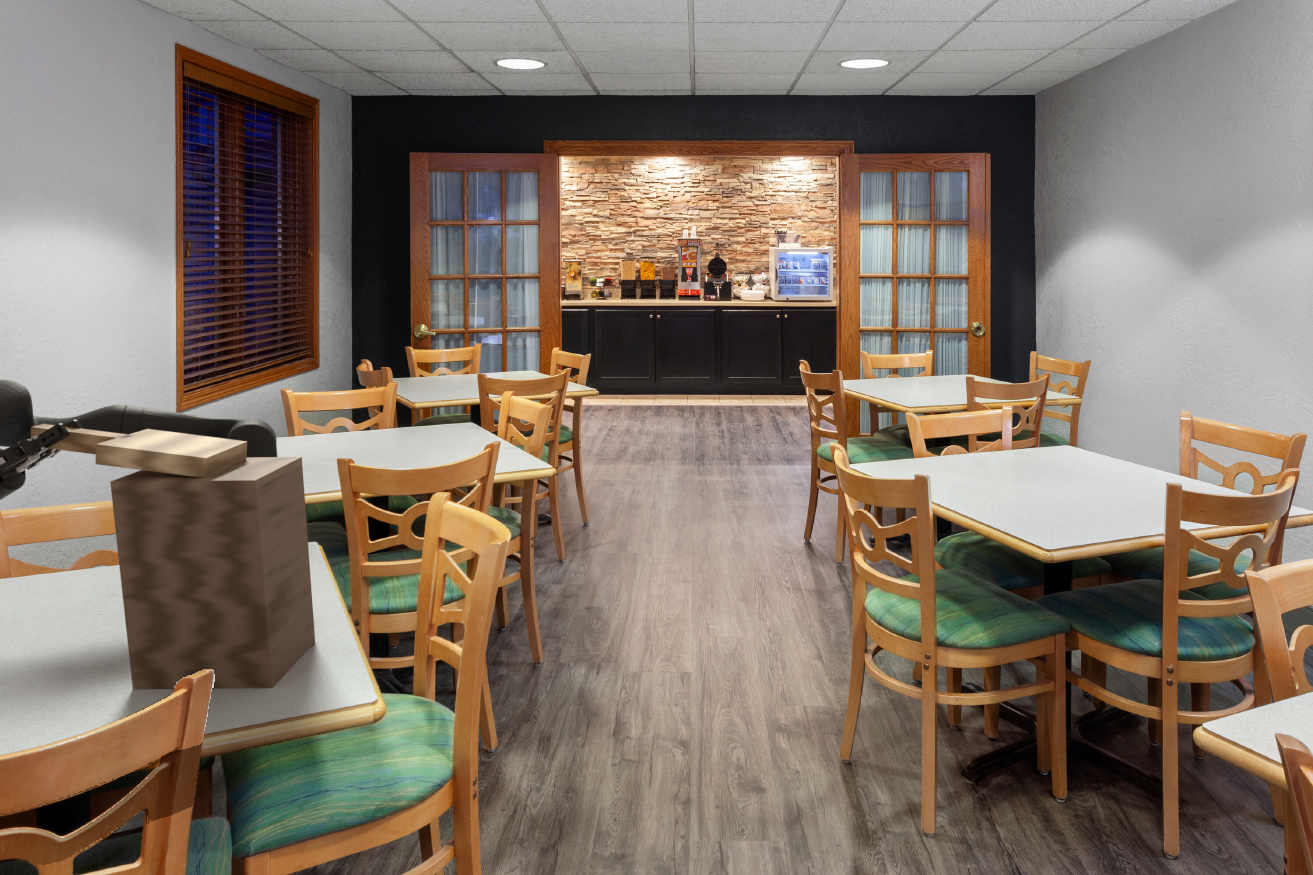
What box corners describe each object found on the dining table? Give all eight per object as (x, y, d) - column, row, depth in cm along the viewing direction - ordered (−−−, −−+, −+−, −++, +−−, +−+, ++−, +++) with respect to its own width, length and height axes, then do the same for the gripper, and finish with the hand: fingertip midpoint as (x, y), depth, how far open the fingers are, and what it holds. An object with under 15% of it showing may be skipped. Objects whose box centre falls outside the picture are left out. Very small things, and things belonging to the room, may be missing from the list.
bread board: (246, 459, 149) (247, 441, 149) (205, 477, 136) (206, 458, 135) (65, 436, 148) (66, 418, 148) (5, 452, 135) (6, 432, 134)
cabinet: (315, 641, 157) (301, 457, 151) (272, 687, 139) (255, 480, 134) (191, 642, 157) (173, 458, 151) (132, 689, 139) (110, 481, 133)
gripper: (-69, 470, 135) (27, 412, 134) (-2, 452, 149) (85, 399, 148) (-38, 513, 136) (57, 456, 135) (26, 492, 150) (113, 439, 149)
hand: (71, 427), depth 141 cm, fingers closed on bread board, 3 cm apart
